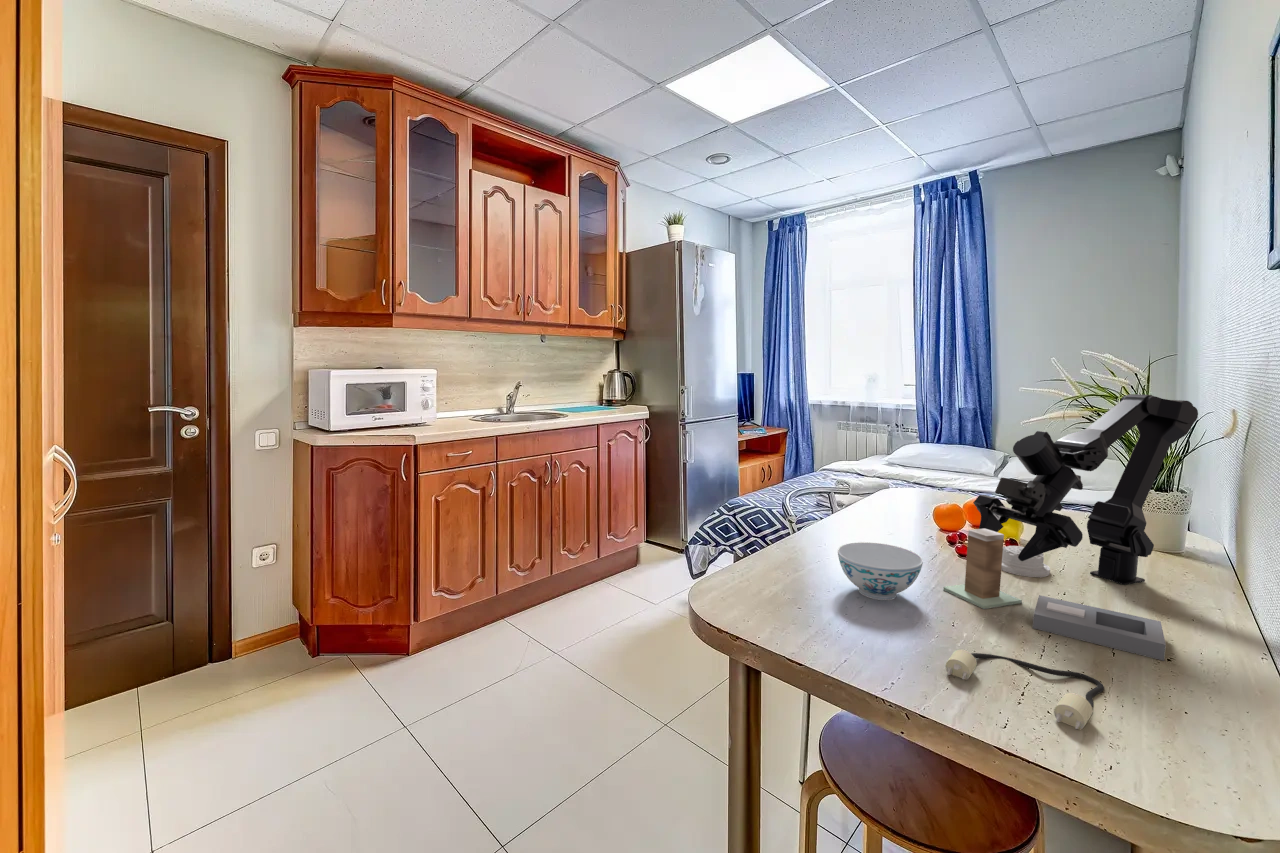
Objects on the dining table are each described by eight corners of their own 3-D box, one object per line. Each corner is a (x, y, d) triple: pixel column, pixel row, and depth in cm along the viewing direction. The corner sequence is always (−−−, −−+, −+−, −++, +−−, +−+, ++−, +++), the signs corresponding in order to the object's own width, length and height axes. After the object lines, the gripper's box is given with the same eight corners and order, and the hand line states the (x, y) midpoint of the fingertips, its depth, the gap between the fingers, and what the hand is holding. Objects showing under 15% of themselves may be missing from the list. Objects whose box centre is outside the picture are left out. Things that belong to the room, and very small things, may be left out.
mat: (979, 584, 110) (979, 581, 110) (1021, 603, 101) (1021, 599, 101) (943, 589, 107) (943, 587, 107) (984, 609, 99) (984, 605, 99)
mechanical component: (1006, 576, 115) (1059, 580, 113) (1007, 556, 115) (1061, 559, 113) (986, 560, 125) (1035, 563, 123) (987, 541, 124) (1036, 544, 122)
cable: (984, 644, 87) (986, 624, 87) (1117, 693, 74) (1119, 669, 74) (938, 677, 78) (940, 654, 77) (1081, 739, 65) (1083, 711, 64)
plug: (981, 588, 107) (985, 528, 105) (999, 596, 103) (1003, 534, 102) (964, 590, 106) (968, 529, 104) (982, 598, 102) (986, 536, 101)
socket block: (1038, 608, 99) (1039, 593, 99) (1159, 636, 89) (1160, 619, 89) (1032, 628, 92) (1033, 611, 91) (1164, 660, 81) (1166, 642, 81)
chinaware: (931, 592, 106) (933, 554, 105) (905, 617, 95) (907, 575, 95) (854, 572, 116) (855, 537, 116) (823, 593, 106) (824, 555, 105)
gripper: (983, 456, 113) (936, 512, 111) (1075, 472, 95) (1021, 539, 93) (1011, 490, 116) (965, 546, 114) (1105, 513, 98) (1053, 579, 96)
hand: (997, 551), depth 104 cm, fingers open, 9 cm apart
